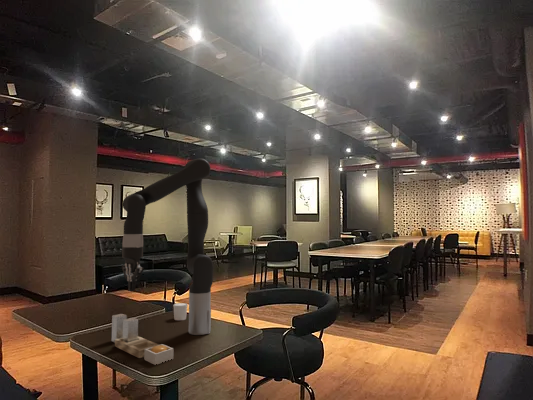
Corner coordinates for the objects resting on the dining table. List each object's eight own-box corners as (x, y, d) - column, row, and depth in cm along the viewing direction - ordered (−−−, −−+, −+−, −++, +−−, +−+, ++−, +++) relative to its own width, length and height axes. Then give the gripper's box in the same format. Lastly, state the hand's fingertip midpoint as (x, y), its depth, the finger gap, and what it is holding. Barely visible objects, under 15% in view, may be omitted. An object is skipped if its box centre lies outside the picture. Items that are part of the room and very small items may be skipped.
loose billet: (111, 341, 140) (112, 315, 141) (121, 338, 143) (121, 313, 144) (116, 343, 138) (117, 317, 138) (126, 340, 141) (126, 315, 141)
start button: (148, 355, 121) (148, 348, 122) (161, 351, 125) (161, 344, 125) (156, 358, 118) (156, 351, 118) (169, 354, 122) (169, 347, 122)
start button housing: (144, 359, 121) (144, 349, 121) (162, 353, 127) (162, 344, 127) (155, 365, 117) (155, 354, 117) (173, 358, 122) (173, 348, 122)
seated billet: (122, 346, 134) (123, 319, 135) (132, 343, 138) (132, 317, 138) (127, 348, 132) (128, 321, 133) (137, 345, 135) (138, 319, 136)
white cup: (188, 316, 176) (188, 302, 177) (185, 320, 170) (186, 305, 170) (174, 317, 176) (175, 302, 177) (171, 320, 169) (171, 306, 170)
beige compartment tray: (114, 346, 134) (115, 339, 134) (134, 341, 140) (134, 334, 140) (139, 358, 123) (139, 350, 123) (159, 351, 129) (159, 344, 129)
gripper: (115, 245, 138) (114, 290, 137) (132, 247, 130) (131, 294, 128) (133, 244, 144) (132, 287, 143) (150, 246, 135) (149, 291, 134)
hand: (131, 290), depth 136 cm, fingers closed
